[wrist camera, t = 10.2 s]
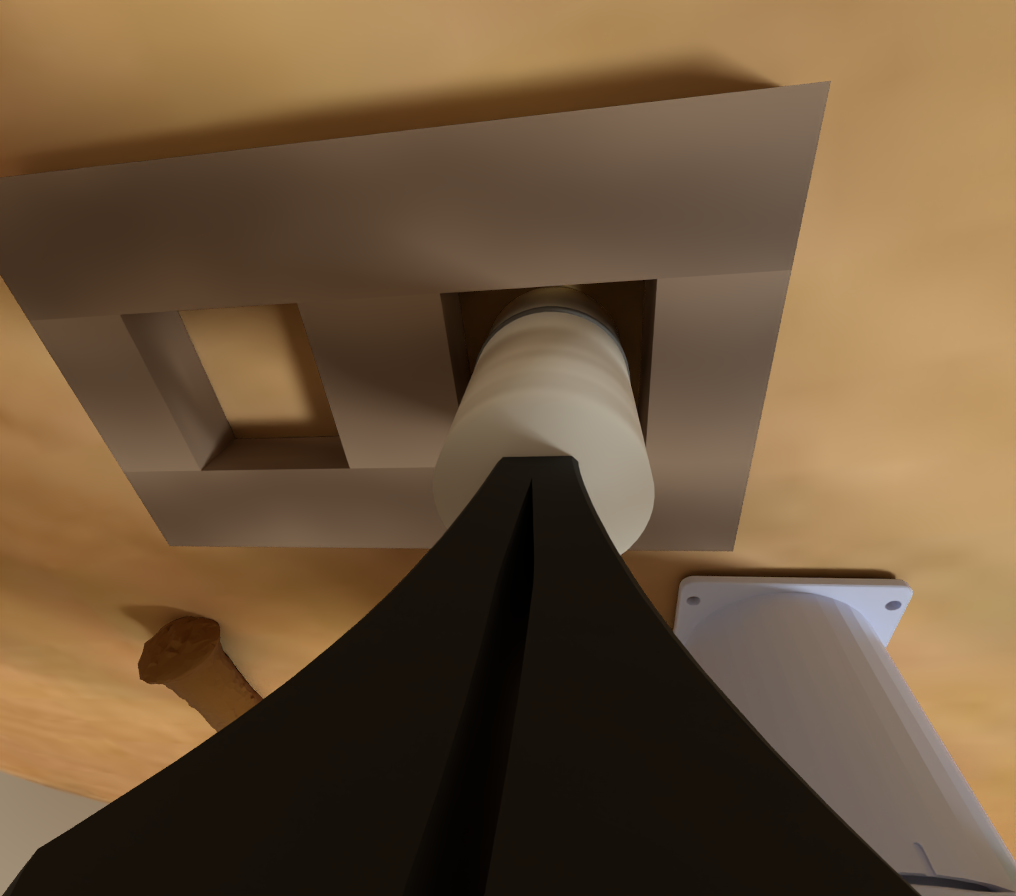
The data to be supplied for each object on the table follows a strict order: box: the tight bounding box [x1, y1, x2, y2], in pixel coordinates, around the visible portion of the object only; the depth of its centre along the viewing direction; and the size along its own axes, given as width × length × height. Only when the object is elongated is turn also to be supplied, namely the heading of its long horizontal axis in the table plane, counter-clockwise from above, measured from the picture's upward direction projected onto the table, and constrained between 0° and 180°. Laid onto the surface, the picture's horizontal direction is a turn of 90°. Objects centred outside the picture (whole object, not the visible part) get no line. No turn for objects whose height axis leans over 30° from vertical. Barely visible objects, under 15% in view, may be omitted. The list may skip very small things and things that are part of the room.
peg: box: [433, 287, 655, 555], centre depth 12 cm, size 4×4×7 cm
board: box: [0, 81, 831, 551], centre depth 15 cm, size 12×20×2 cm, turn 95°
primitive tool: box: [138, 617, 263, 732], centre depth 28 cm, size 19×6×4 cm, turn 8°
